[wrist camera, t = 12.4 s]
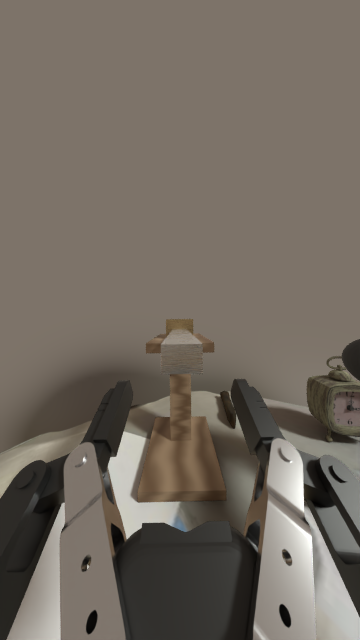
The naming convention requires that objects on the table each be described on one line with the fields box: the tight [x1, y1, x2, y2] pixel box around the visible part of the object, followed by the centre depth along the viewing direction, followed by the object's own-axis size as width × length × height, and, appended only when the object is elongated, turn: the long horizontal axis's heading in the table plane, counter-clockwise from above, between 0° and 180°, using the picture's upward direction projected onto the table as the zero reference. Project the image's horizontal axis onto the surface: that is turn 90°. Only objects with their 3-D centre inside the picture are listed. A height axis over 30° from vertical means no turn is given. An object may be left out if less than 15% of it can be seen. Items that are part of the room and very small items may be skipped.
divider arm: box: [161, 319, 203, 374], centre depth 28 cm, size 7×32×5 cm, turn 1°
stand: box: [137, 334, 226, 502], centre depth 39 cm, size 18×22×32 cm
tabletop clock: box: [307, 356, 360, 442], centre depth 44 cm, size 14×9×25 cm, turn 82°
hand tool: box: [220, 391, 236, 429], centre depth 56 cm, size 19×4×5 cm, turn 169°
